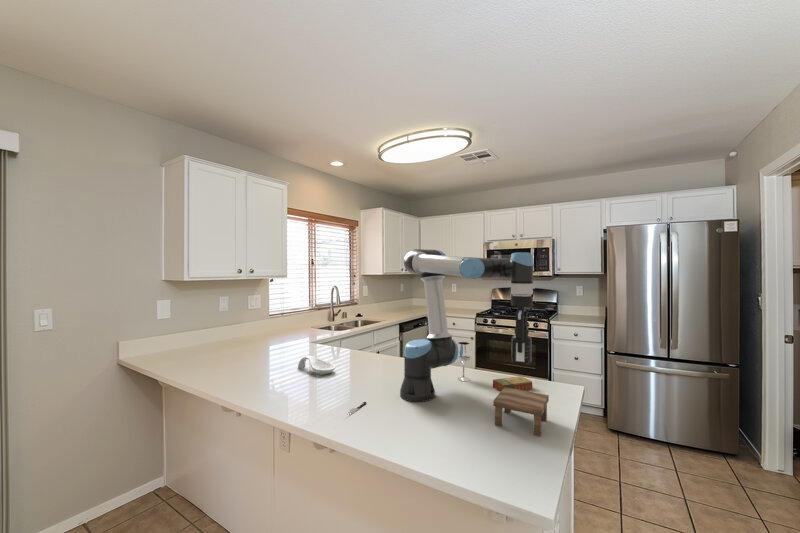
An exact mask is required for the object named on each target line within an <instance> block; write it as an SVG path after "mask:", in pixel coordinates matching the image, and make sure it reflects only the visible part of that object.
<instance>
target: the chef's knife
mask: <svg viewBox="0 0 800 533" xmlns="http://www.w3.org/2000/svg"><path fill="white" fill-rule="evenodd" d="M366 404H367V401H363V402H362V403H361V404H360V405H359V406H357V407H356V408H355V407H353V408H351V409H349V411H350V412H348V411H347V412H348V413H349V415H350V413H351V414H352V415H353V414H354V413H357V411H359V410H360V409H361V408H362V407H364V406H365V405H366ZM347 415H348V414H347ZM350 416H351V415H350Z"/></svg>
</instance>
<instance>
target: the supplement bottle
mask: <svg viewBox="0 0 800 533" xmlns="http://www.w3.org/2000/svg"><path fill="white" fill-rule="evenodd" d="M529 329H530V328H528V327H527V328H524V362H520V361H516V343H514V341H515V339H516V327H514V334H513V335H512V336H511V361H512V362H513V363H516V364H523V365H524V364H525V365H526V364H530V363H532V348H533V347H532V345H533V344H532V343H533V342H532V340H533V339H532V337H531V336H530V335H529V334H530V332H529V331H530V330H529ZM518 339H520V338H518Z"/></svg>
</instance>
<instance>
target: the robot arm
mask: <svg viewBox="0 0 800 533" xmlns="http://www.w3.org/2000/svg"><path fill="white" fill-rule="evenodd" d="M403 265H404V266H403V267H404V268H405V270H406V271H407V272H408V273H410V274H412V275H420V280H421V281H422V282H423V284H424V293H425V302H426V303H425V304H426V313H427V324H428V334H427V336H426V338H425V339H424V338H421V339H413V340H410V341H408V342H407V343H406V344H405V346H404V352H403V355H404V357H403V358H404V359H403V360H404V364H403V365H404V366H403V368H404V369H403V370H404V371H403V372H404V373H403V374H404V375H403V379H402V380H403V381H402V383H401V386H400V390H399V395H400V397H401V398H402V399H403V400H406V401H409V402H416V403H417V402H418V403H422V402H428V401H431V400H433V399H435V396H436V390H435V387H434V384H433V380H432V370H433V369H437V368H440V367H448V366H450V365H451V364H454V363H455V361H456V360H458V359H457V357H458V346H457V345H458V343H456V342H457V341H455V340H454V339H453V338H452V337H453V335H452V334H451V333H450V332H449V330H448V321H447V313H446V312H447V311H446V303H445V294H444V293H445V292H444V285H443V280H444V279H445V277H446V275H447V276H455V277H462V278H463V277H464V278H465V279H469V280H477V279H510V294H511V296H510V306H512V307H517V310H515V328H516V339H515V341H514V343H516V361H520V362H524V328H528V316H529V311H528V309H527V308H530V307H533V306H534V296H533V294H534V293H533V292H534V291H533V290H535V288H536V287H535V286H534V285H533V283H534V278H533V276H534V275H533V274H534V256H533V254H532V253H531V252H512V253H511V255H510V258H498V257H497V258H493V257H492V258H491V257H473V256H471V257H470V256H457V255H456V256H454V255H453V256H452V255H446V253H444V252H443V251H441V250H439V249H438V250H436V249H422V248H421V249H418V248H415V249H412V250H410V251H408V252H407V253H406V254H405V256H404V258H403ZM518 338H520V339H518Z"/></svg>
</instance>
